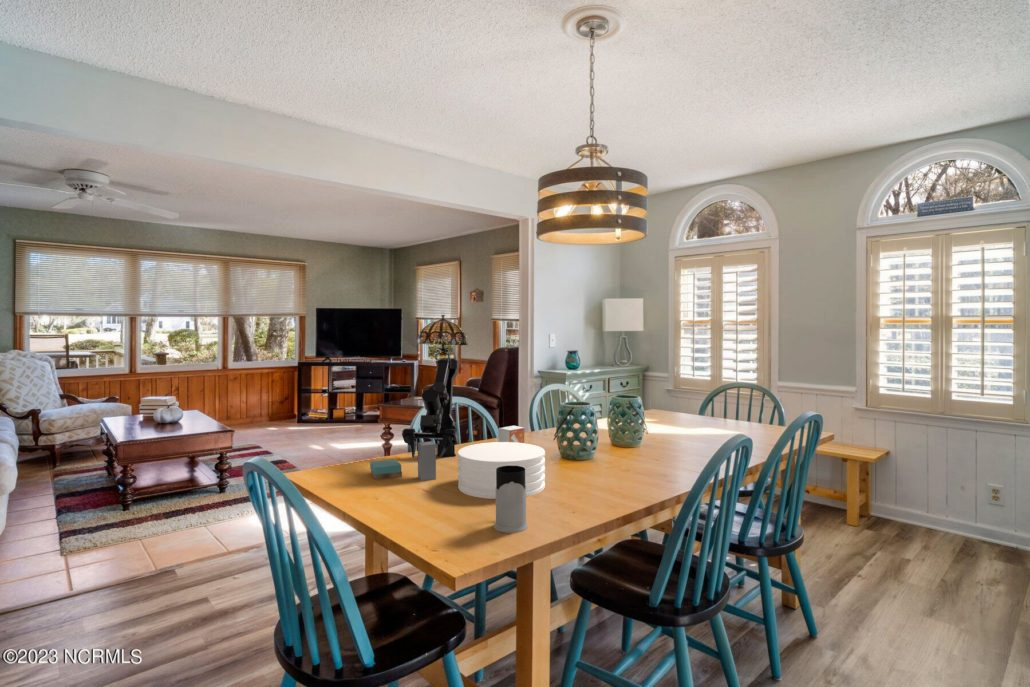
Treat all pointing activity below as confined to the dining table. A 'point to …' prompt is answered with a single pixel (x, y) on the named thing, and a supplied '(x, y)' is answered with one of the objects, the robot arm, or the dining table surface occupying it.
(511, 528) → the glass holder
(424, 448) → the grey pillar block
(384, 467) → the teal slab
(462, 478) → the plate stack
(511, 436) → the small box
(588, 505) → the dining table surface
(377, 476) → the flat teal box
